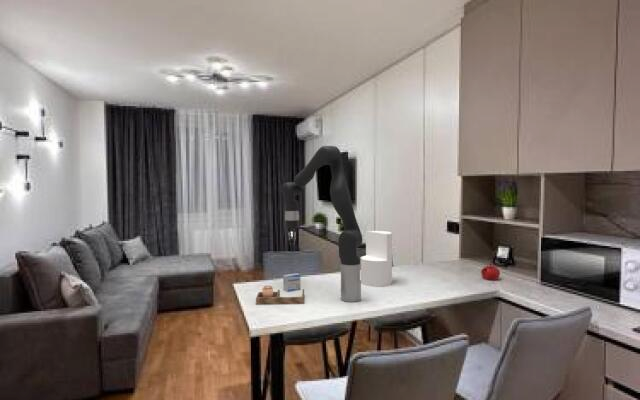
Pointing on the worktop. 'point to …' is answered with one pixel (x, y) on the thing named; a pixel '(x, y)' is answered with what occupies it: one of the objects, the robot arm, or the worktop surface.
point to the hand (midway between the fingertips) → (292, 251)
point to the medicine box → (291, 282)
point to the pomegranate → (490, 272)
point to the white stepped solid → (377, 259)
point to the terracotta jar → (267, 291)
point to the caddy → (278, 299)
